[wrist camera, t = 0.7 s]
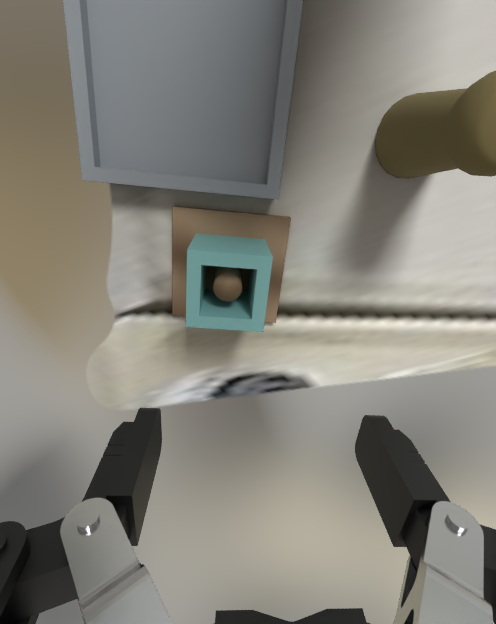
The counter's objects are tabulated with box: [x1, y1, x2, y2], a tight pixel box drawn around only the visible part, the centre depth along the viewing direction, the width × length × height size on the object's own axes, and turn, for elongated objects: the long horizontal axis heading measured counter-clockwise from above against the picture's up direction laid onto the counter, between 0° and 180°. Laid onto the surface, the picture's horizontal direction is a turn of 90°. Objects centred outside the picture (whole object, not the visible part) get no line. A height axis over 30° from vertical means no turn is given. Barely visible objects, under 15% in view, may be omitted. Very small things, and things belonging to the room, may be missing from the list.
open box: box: [186, 233, 273, 332], centre depth 27 cm, size 8×6×6 cm
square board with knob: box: [172, 206, 291, 323], centre depth 27 cm, size 10×10×6 cm
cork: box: [375, 71, 496, 178], centre depth 21 cm, size 6×6×11 cm
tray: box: [63, 0, 303, 199], centre depth 23 cm, size 15×15×2 cm
